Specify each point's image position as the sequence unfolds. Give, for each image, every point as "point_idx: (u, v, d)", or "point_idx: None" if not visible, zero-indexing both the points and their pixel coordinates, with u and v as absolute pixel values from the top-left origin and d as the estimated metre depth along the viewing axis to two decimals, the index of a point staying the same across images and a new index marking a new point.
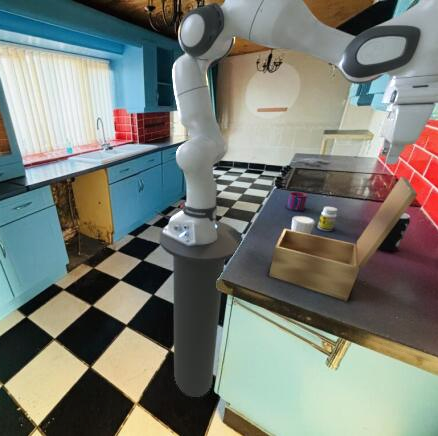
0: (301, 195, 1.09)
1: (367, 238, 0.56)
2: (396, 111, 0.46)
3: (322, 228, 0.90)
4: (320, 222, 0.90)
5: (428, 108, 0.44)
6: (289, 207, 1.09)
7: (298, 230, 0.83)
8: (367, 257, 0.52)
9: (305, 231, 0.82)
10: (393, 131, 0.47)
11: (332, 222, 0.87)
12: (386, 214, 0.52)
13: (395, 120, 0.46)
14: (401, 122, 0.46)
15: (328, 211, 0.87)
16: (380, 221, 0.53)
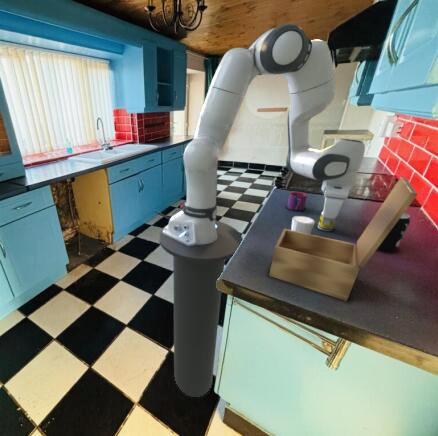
0: (301, 195, 1.09)
1: (367, 238, 0.56)
2: (325, 200, 0.80)
3: (322, 228, 0.90)
4: (320, 222, 0.90)
5: (340, 201, 0.78)
6: (289, 207, 1.09)
7: (298, 230, 0.83)
8: (367, 257, 0.52)
9: (305, 231, 0.82)
10: (323, 211, 0.81)
11: (332, 222, 0.87)
12: (386, 214, 0.52)
13: (324, 205, 0.80)
14: (327, 207, 0.80)
15: None
16: (380, 221, 0.53)
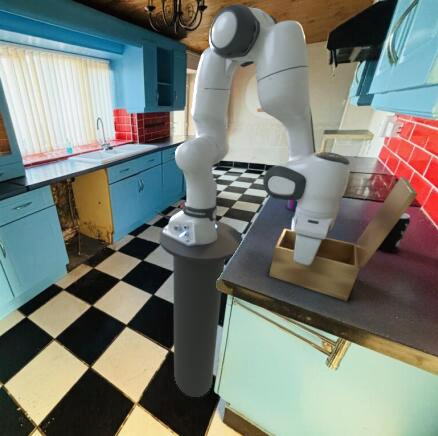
0: None
1: (367, 238, 0.56)
2: None
3: None
4: None
5: (315, 242, 0.55)
6: (289, 207, 1.09)
7: None
8: (367, 257, 0.52)
9: None
10: (294, 254, 0.58)
11: None
12: (386, 214, 0.52)
13: (295, 246, 0.58)
14: (299, 249, 0.57)
15: None
16: (380, 221, 0.53)
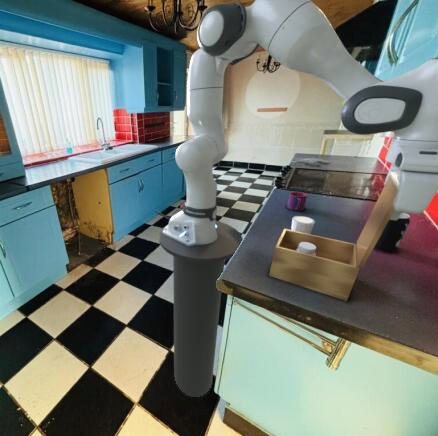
0: (301, 195, 1.09)
1: (365, 237, 0.56)
2: (401, 178, 0.43)
3: None
4: None
5: (436, 179, 0.40)
6: (289, 207, 1.09)
7: (298, 230, 0.83)
8: (365, 256, 0.52)
9: (305, 231, 0.82)
10: (398, 199, 0.43)
11: None
12: (379, 212, 0.52)
13: (400, 187, 0.43)
14: (407, 190, 0.42)
15: (304, 250, 0.64)
16: (374, 220, 0.54)
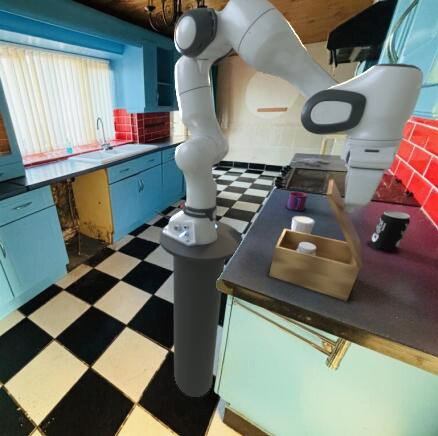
0: (301, 195, 1.09)
1: None
2: (349, 174, 0.47)
3: None
4: None
5: (377, 174, 0.44)
6: (289, 207, 1.09)
7: (298, 230, 0.83)
8: (355, 256, 0.53)
9: (305, 231, 0.82)
10: (346, 192, 0.48)
11: None
12: None
13: (348, 182, 0.47)
14: (353, 185, 0.46)
15: (304, 250, 0.64)
16: None
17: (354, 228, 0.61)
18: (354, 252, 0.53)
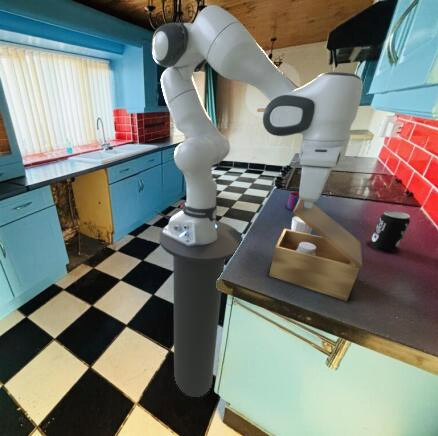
0: None
1: None
2: (301, 171, 0.52)
3: None
4: None
5: (324, 172, 0.49)
6: (289, 207, 1.09)
7: (298, 230, 0.83)
8: (349, 258, 0.54)
9: (305, 231, 0.82)
10: (300, 189, 0.52)
11: None
12: None
13: (300, 179, 0.52)
14: (305, 182, 0.51)
15: (304, 250, 0.64)
16: None
17: (345, 230, 0.63)
18: (346, 254, 0.54)
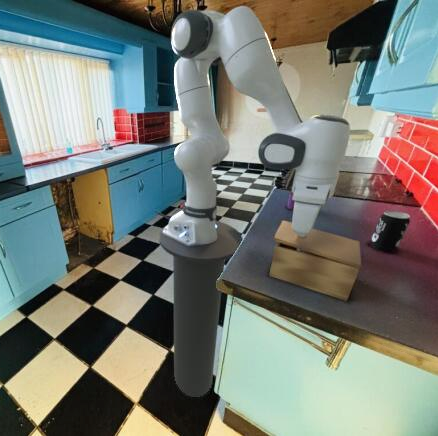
0: None
1: None
2: (294, 206, 0.55)
3: None
4: None
5: (314, 208, 0.53)
6: (289, 207, 1.09)
7: None
8: (345, 262, 0.55)
9: None
10: (292, 222, 0.56)
11: None
12: None
13: (293, 214, 0.55)
14: (297, 216, 0.55)
15: (304, 250, 0.64)
16: None
17: (338, 236, 0.64)
18: (340, 260, 0.56)
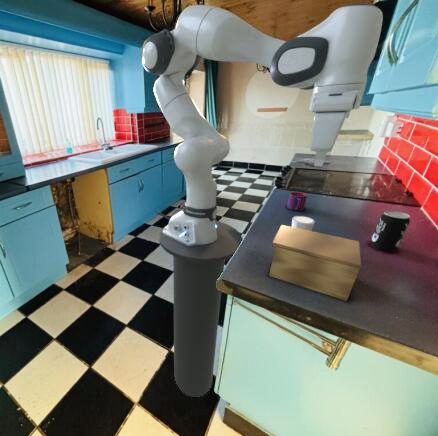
0: (301, 195, 1.09)
1: None
2: (313, 119, 0.47)
3: None
4: None
5: (339, 116, 0.45)
6: (289, 207, 1.09)
7: None
8: (344, 262, 0.55)
9: None
10: (311, 138, 0.48)
11: None
12: None
13: (313, 127, 0.47)
14: (318, 129, 0.47)
15: None
16: None
17: (338, 237, 0.64)
18: (339, 261, 0.56)
